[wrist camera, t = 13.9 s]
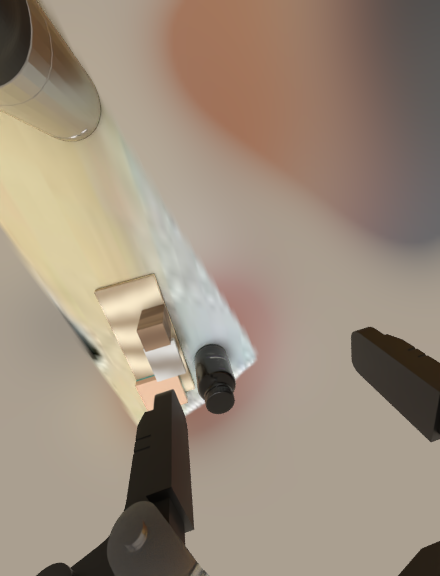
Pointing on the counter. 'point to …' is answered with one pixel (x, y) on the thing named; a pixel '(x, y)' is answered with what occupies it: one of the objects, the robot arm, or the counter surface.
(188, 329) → the counter surface
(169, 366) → the brown block
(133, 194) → the counter surface
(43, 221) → the counter surface
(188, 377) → the board
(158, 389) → the tile
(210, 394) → the supplement bottle
